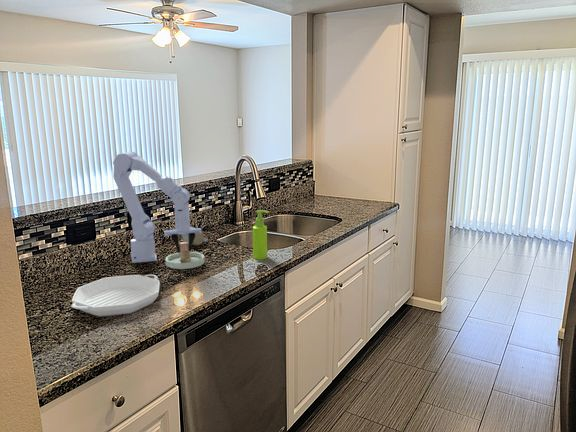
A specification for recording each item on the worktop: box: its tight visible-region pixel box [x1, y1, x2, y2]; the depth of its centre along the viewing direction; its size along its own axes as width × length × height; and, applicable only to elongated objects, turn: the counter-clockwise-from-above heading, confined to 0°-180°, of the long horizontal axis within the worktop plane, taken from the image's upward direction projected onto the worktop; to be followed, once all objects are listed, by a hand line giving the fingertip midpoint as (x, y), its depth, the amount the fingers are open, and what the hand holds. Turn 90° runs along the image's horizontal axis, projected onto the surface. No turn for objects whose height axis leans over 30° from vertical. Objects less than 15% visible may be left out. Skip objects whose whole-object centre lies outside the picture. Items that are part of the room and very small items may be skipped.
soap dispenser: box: [252, 209, 270, 260], centre depth 185 cm, size 6×7×20 cm
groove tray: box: [165, 251, 205, 270], centre depth 181 cm, size 15×15×2 cm
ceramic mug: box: [181, 226, 209, 247], centre depth 207 cm, size 11×8×8 cm
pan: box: [70, 274, 161, 318], centre depth 143 cm, size 31×26×4 cm
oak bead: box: [180, 251, 192, 263], centre depth 177 cm, size 4×4×5 cm
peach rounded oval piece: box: [178, 241, 189, 256], centre depth 184 cm, size 4×4×5 cm
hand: (184, 251), depth 184 cm, fingers closed on peach rounded oval piece, 4 cm apart
